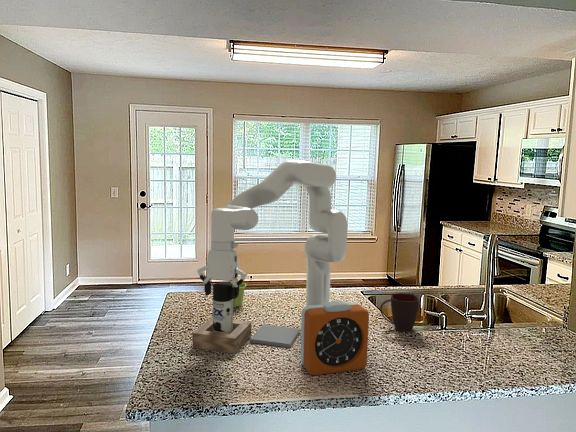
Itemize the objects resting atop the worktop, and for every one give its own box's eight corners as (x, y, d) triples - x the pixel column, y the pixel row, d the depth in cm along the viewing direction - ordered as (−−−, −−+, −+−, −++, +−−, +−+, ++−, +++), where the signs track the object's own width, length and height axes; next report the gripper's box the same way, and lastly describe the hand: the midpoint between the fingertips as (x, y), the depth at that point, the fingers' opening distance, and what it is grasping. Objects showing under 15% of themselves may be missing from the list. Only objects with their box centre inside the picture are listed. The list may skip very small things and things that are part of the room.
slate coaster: (299, 331, 163) (300, 328, 162) (289, 347, 149) (289, 344, 149) (262, 327, 166) (263, 324, 166) (249, 342, 153) (250, 338, 153)
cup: (420, 334, 162) (422, 302, 161) (381, 333, 163) (383, 301, 161) (413, 324, 172) (415, 293, 170) (376, 323, 172) (378, 292, 171)
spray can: (208, 342, 152) (208, 285, 149) (220, 336, 158) (220, 280, 155) (225, 347, 149) (224, 288, 146) (236, 339, 155) (236, 283, 152)
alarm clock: (309, 377, 130) (310, 308, 127) (299, 363, 138) (301, 298, 135) (367, 369, 135) (370, 303, 132) (355, 356, 143) (357, 294, 140)
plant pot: (220, 307, 187) (219, 287, 186) (229, 300, 196) (229, 281, 195) (240, 309, 184) (240, 289, 183) (249, 302, 193) (249, 283, 192)
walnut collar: (251, 335, 158) (251, 321, 158) (235, 353, 144) (235, 338, 143) (211, 330, 162) (211, 317, 162) (192, 347, 148) (192, 332, 147)
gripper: (250, 245, 150) (249, 295, 152) (203, 241, 154) (202, 290, 157) (242, 250, 143) (241, 302, 145) (193, 245, 147) (192, 296, 149)
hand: (221, 296), depth 151 cm, fingers open, 9 cm apart
